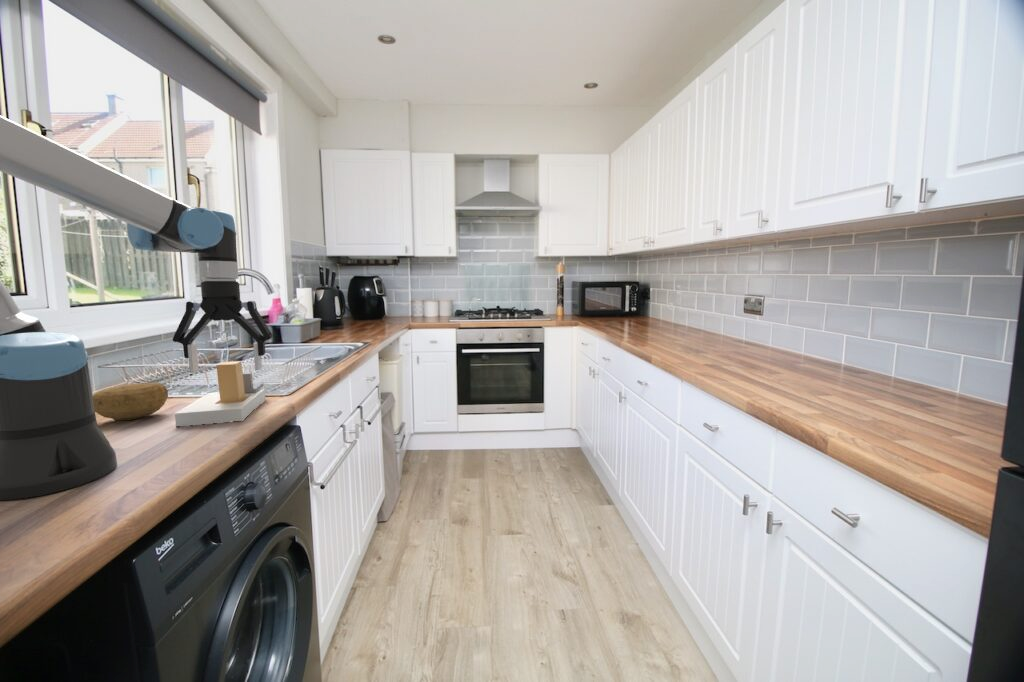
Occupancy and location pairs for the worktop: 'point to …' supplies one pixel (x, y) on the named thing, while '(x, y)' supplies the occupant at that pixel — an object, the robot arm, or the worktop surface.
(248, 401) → the socket board
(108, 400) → the potato
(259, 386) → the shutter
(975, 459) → the worktop surface
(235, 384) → the plug
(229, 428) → the worktop surface
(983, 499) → the worktop surface
